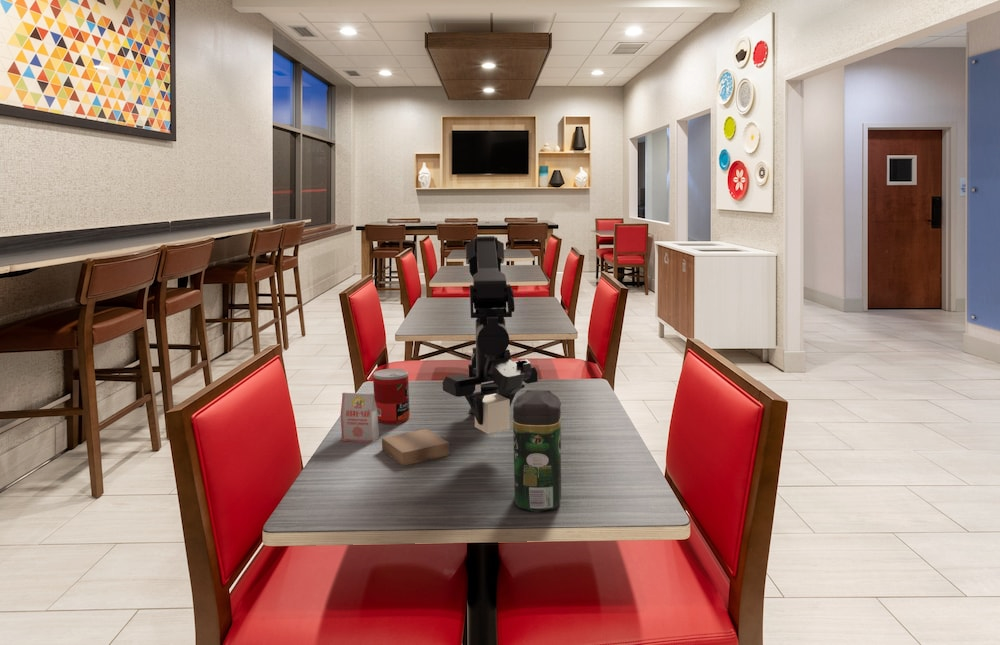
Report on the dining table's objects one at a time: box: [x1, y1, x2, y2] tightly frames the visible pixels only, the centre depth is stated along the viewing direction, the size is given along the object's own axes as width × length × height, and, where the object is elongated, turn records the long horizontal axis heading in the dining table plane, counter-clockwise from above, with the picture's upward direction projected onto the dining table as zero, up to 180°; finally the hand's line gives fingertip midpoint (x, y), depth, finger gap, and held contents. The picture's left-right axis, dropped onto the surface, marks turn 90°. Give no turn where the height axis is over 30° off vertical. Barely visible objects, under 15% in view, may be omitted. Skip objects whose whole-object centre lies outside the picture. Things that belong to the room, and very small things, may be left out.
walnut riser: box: [381, 428, 450, 467], centre depth 141 cm, size 10×10×3 cm
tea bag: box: [340, 392, 380, 443], centre depth 149 cm, size 4×7×10 cm, turn 81°
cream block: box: [474, 393, 511, 435], centre depth 138 cm, size 5×5×6 cm
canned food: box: [372, 368, 411, 425], centre depth 161 cm, size 8×8×11 cm
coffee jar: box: [512, 389, 562, 512], centre depth 117 cm, size 10×8×19 cm
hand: (492, 421), depth 138 cm, fingers closed on cream block, 5 cm apart
